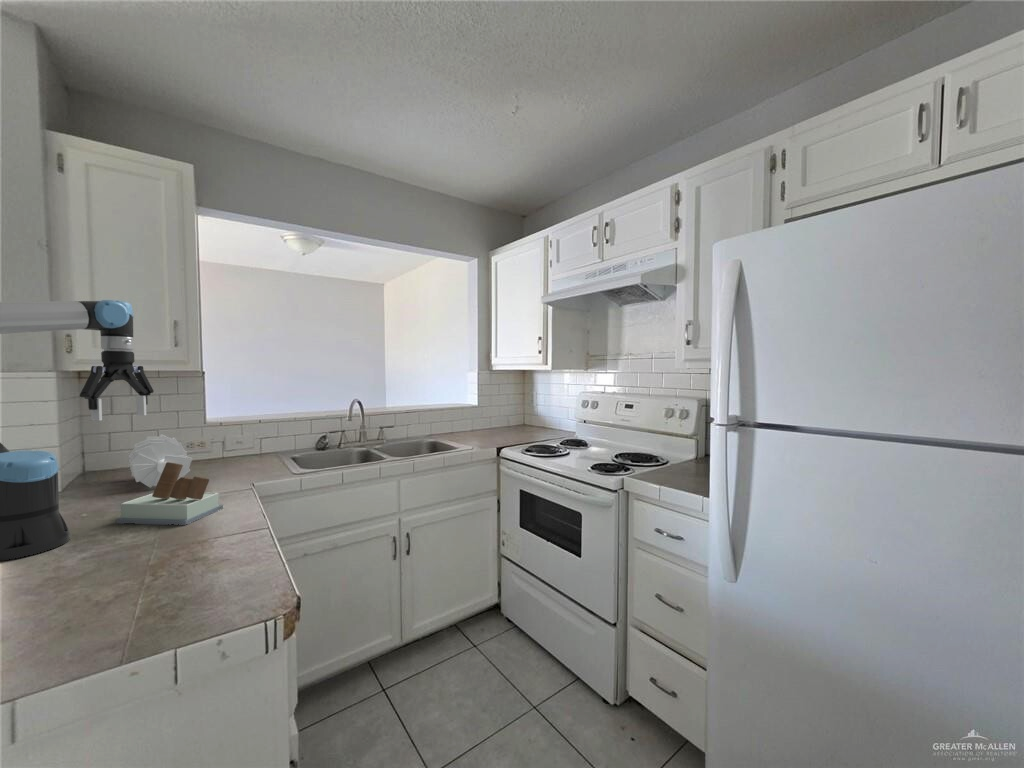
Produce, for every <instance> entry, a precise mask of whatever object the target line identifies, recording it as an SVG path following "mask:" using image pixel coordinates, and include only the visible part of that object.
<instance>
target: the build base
mask: <svg viewBox="0 0 1024 768" xmlns="http://www.w3.org/2000/svg"><path fill="white" fill-rule="evenodd" d="M153 493H154V492H153ZM153 493H150V494H146V495H144V496H140V497H137V498H133V499H132V500H128V501H124V502H121V504H120V517H118V518H115V524H124V523H135V524H134V525H165V526H166V525H167V526H169V525H170V526H172V525H171V524H174V525H173V526H187V525H186V524H188V525H190V524H192V523H194V522H196V521H195V520H197V521H198V519H199V520H201V519H203V518H205V517H207V515H208V516H209V514H210V515H212V514H214V513H217V512H218V510H219V511H220V509H221V510H223V509H224V504H220V493H218V492H204V495H203V498H202V499H191V498H188V497H187V498H186V499H185V500H184V499H175V498H171V497H170V498H169V499H164V498H156V497H153V496H152V495H153ZM222 508H223V509H222ZM216 511H217V512H216ZM211 513H212V514H211ZM202 517H203V518H202ZM200 518H201V519H200ZM193 521H194V522H193ZM191 522H192V523H191ZM189 523H190V524H189ZM168 524H169V525H168ZM178 524H179V525H178Z"/></svg>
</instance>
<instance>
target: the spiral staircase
mask: <svg viewBox="0 0 1024 768" xmlns="http://www.w3.org/2000/svg"><path fill="white" fill-rule="evenodd" d="M133 446H134V448H133V449H132V451H130V453H129V455H127V457H128V458H129V459H128V460H127V462H129V469H130V470H129V472H131V477H133V478H134V479H135V482H136V483H138V482H140V483H142V484H144V485H145V486H146V487H148V488H149V489H151V488H153V487H156V486H157V483H158V481H159V479H160V476H161V474H162V472H163V469H164V467H165V465H166V463H167V462H171V463H177V464H182V465H183V467H182V469H181V472H180V474H179V477H178V479H180V478H181V477H185V476H186V475H187V474H188V473H189V472H191V469H190V466H191V464H192V461H193V457H190V456H187V455H188V451H186V449H185V448H184V447H183V444H182V442H181V441H179V442H178V440H177V438H176V437H172V438H171V437H169V436H167V435H164V434H163V433H161V434H160V435H159V436H146V438H145V439H144V440H142V441H140V442H137V443H135V444H133ZM178 479H177V480H178Z"/></svg>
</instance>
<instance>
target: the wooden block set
mask: <svg viewBox="0 0 1024 768" xmlns="http://www.w3.org/2000/svg"><path fill="white" fill-rule="evenodd" d="M182 467H183V465H182V464H177V463H171V462H167V463H166V465H165V467H164V469H163V472H162V474H161V476H160V479H159V481H158V483H157V486H155V487H154V491H153V495H152V496H153V497H156V498H164V499H169V498H170V497H171V498H175V499H184V500H185V499H186V498H187V497H188V498H191V499H202V498H203V495H204V493H206V489H207V487H208V484H209V482H210V478H207V477H203V476H202V477H201V476H196V475H194V476H193V477H192V478H190V477H185V476H183V477H181V478H180V479H178V477H179V474H180V472H181V469H182ZM177 479H178V480H177Z"/></svg>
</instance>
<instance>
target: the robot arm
mask: <svg viewBox="0 0 1024 768" xmlns="http://www.w3.org/2000/svg"><path fill="white" fill-rule="evenodd" d="M133 310H134V309H133V306H132V304H131V303H130V302H127V301H123V300H114V299H113V300H112V299H111V300H110V299H102V300H81V301H79V300H78V301H77V300H76V301H75V300H66V301H65V300H62V301H61V300H48V301H47V300H46V301H45V300H43V301H41V300H40V301H39V300H38V301H37V300H36V301H34V300H33V301H30V300H29V301H26V300H25V301H0V335H6V334H7V335H8V334H23V333H38V332H39V333H40V332H57V331H75V330H76V331H77V330H87V331H89V330H90V331H99V332H100V334H99V335H100V349H101V350H102V352H101V351H100V357H101V363H102V364H103V366H102V365H92V366H91V367H90V373H89V375H88V378H87V380H86V381H85V383H84V385H83V387H82V390H81V392H80V393H79V397H81V398H84V399H85V400H88V401H87V402H88V403H87V404H88V410H90V415H91V416H90V417H91V418H90V420H91V421H92V422H93V421H99V422H100V421H103V404H102V403H103V401H102V398H100V396H101V395H102V394H103V393H104V392H105V390H106V389H107V387H109V385H111V383H112V382H114V381H125V382H126V383H128V385H129V386H130V387H131V388H132V389H133V390H134V391H135V392H136V393H137V394H138V395H136V396H135V399H136V400H135V401H136V402H135V403H136V404H135V405H136V416H147V406H148V403H149V402H148V400H149V399H148V396H151V394H153V393H154V391H155V390H154V389H153V387H152V385H151V383H150V381H149V379H148V377H147V376H146V373H145V370H144V369H145V368H144V366H142V365H133V364H135V352H134V351H133V350H135V343H134V319H135V318H134V312H133ZM103 373H104V374H103ZM59 468H60V466H59V464H58V458H57V457H56V455H55V454H53V453H52V452H49V451H43V450H29V449H28V450H14V451H12V450H11V451H10V450H9V449H8V448H7V447H6V446H5V445H4V444H3V443H2V442H0V562H2V561H9V559H10V560H15V558H16V559H20V557H21V558H25V557H24V556H26V557H29V556H28V555H30V556H34V555H38V554H41V553H44V551H45V552H47V550H48V551H50V549H51V550H54V549H56V548H58V546H59V547H61V546H63V545H65V544H67V543H68V542H69V541H70V540H69V539H71V537H70V536H71V535H70V534H71V533H70V529H69V527H68V526H67V523H66V522H65V520H64V518H63V516H62V514H61V512H60V503H59V501H60V500H59V499H60V498H59ZM62 544H63V545H62ZM60 545H61V546H60ZM55 547H56V548H55ZM53 548H54V549H53ZM40 552H41V553H40ZM37 553H38V554H37ZM33 554H34V555H33Z"/></svg>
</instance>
